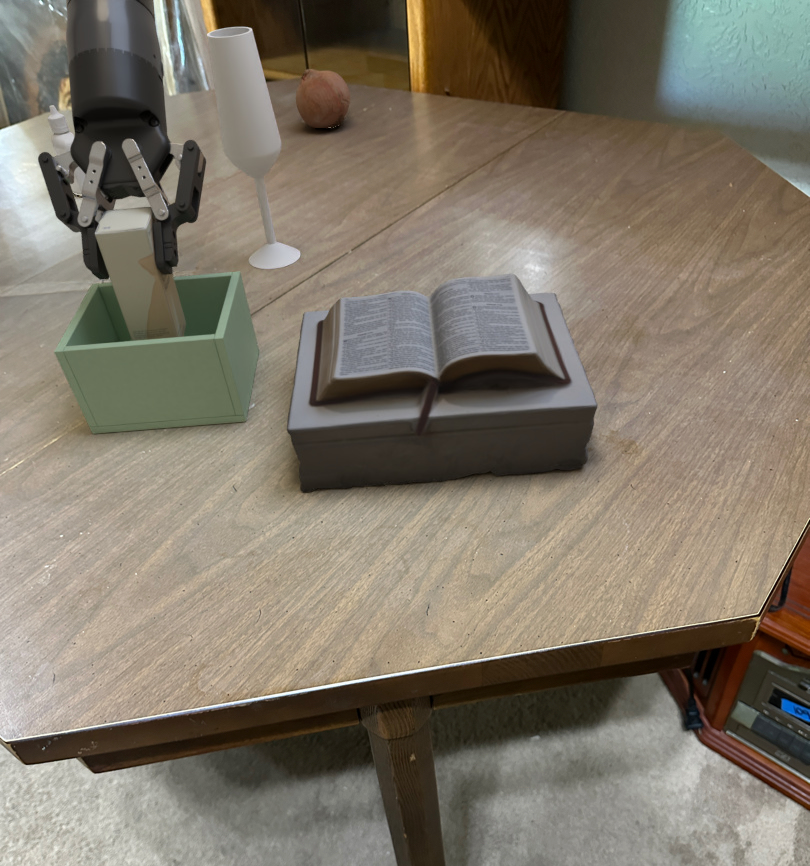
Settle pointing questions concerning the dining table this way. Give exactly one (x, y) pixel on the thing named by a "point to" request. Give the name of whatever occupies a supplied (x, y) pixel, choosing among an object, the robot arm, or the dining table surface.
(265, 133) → the champagne flute
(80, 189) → the eye dropper bottle
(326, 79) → the pomegranate
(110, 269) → the box
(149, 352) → the storage bin
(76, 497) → the dining table surface
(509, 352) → the bible
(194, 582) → the dining table surface
